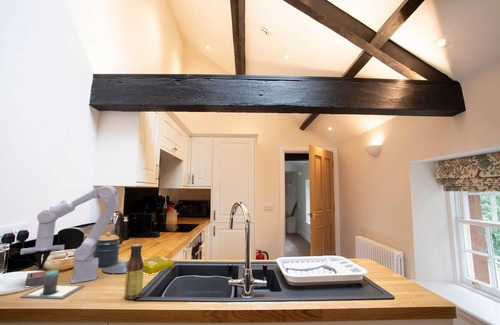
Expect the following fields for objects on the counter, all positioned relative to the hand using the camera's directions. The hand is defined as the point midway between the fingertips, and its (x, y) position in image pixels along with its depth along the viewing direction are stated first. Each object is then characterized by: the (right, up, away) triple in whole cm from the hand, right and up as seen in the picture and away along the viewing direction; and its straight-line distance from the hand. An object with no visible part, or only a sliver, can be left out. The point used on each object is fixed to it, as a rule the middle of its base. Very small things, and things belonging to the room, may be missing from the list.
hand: (40, 268), depth 101 cm
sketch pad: (+14, -5, -9) cm, 17 cm away
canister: (+11, -10, +27) cm, 31 cm away
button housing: (0, -6, -1) cm, 6 cm away
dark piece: (+14, -4, -11) cm, 18 cm away
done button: (0, -5, -1) cm, 5 cm away
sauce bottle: (+46, -7, -10) cm, 48 cm away
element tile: (+41, -11, +23) cm, 48 cm away
